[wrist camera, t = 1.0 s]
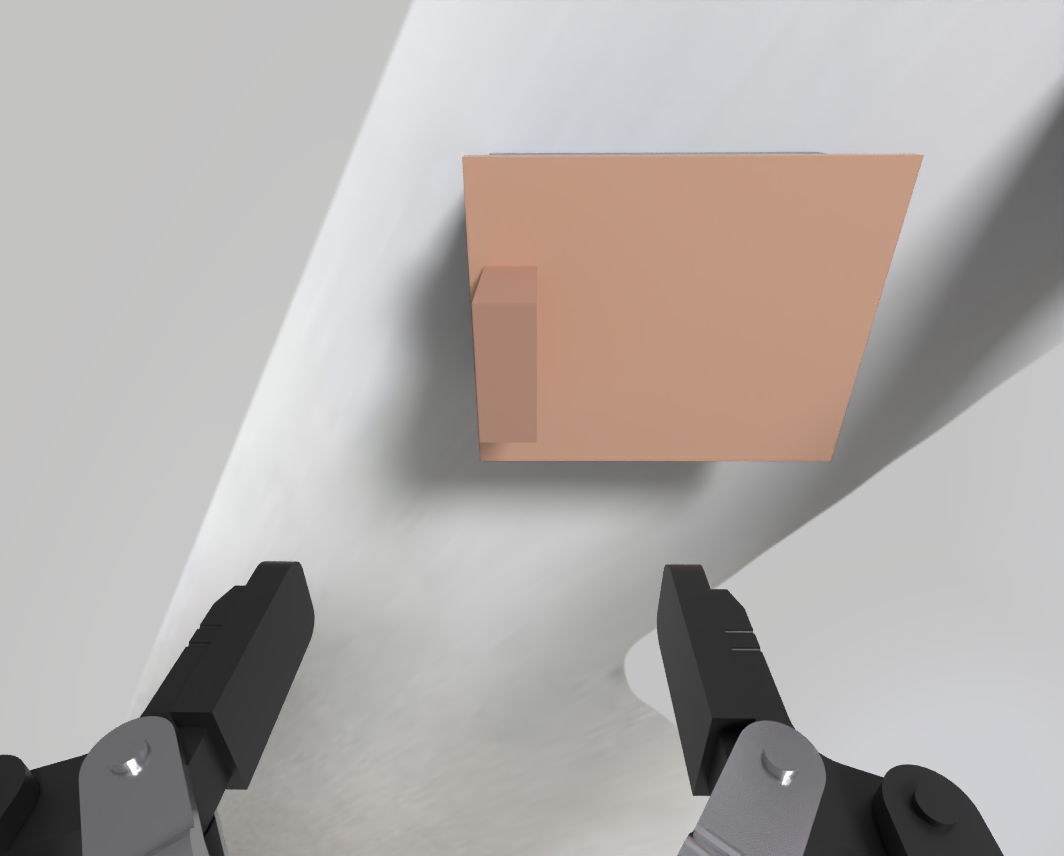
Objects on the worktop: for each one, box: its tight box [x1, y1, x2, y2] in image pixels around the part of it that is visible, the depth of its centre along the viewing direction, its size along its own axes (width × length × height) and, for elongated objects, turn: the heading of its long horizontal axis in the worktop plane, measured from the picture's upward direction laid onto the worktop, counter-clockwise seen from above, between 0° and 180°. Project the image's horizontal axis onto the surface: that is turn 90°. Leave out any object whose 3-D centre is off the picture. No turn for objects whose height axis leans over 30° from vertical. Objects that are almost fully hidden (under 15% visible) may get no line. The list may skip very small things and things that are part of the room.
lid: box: [462, 154, 924, 461], centre depth 26 cm, size 19×15×8 cm
